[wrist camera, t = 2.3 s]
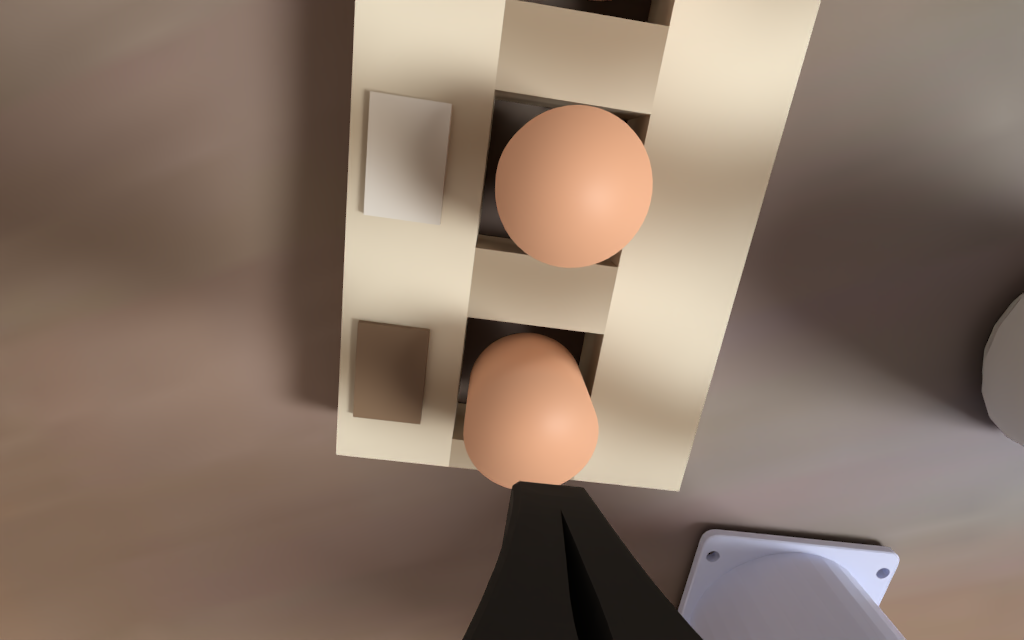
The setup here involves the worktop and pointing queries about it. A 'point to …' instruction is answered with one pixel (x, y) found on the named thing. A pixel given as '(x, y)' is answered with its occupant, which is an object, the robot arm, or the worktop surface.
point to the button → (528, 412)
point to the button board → (507, 268)
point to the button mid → (573, 186)
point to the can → (1006, 372)
